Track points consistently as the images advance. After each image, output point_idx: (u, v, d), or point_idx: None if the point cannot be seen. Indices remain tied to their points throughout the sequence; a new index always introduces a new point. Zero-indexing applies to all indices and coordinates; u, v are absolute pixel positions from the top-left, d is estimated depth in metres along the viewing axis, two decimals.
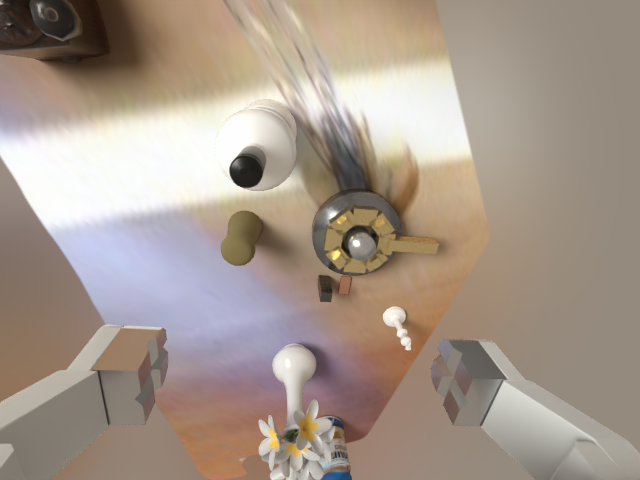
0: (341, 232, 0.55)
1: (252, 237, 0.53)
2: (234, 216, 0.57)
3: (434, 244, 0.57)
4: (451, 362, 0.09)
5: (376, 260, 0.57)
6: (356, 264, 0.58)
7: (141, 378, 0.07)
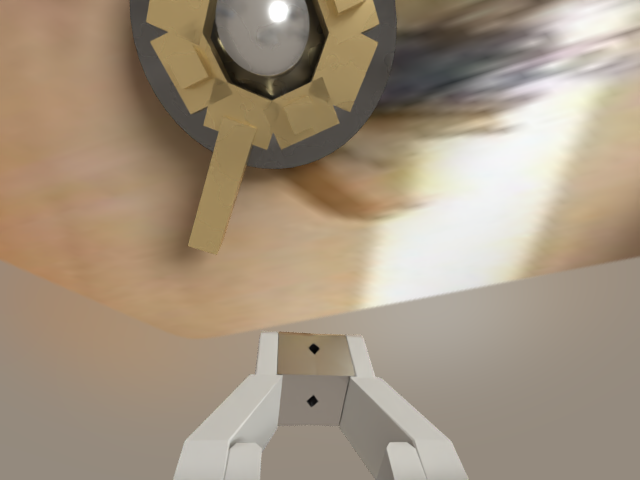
0: None
1: None
2: None
3: (217, 244, 0.23)
4: None
5: (197, 70, 0.17)
6: None
7: (314, 381, 0.08)
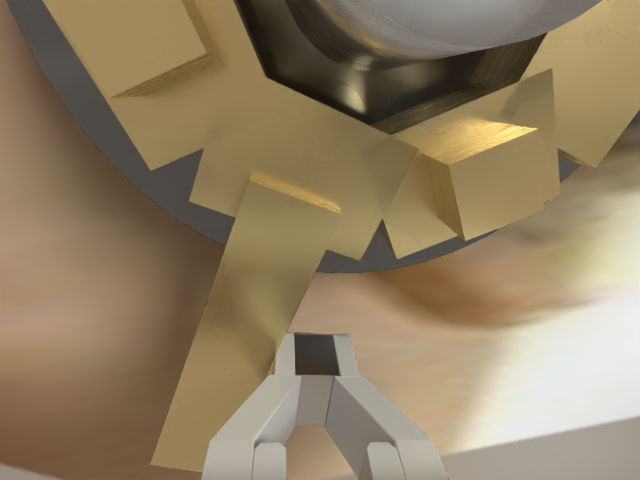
0: None
1: None
2: None
3: None
4: None
5: (166, 29, 0.05)
6: None
7: (332, 382, 0.08)
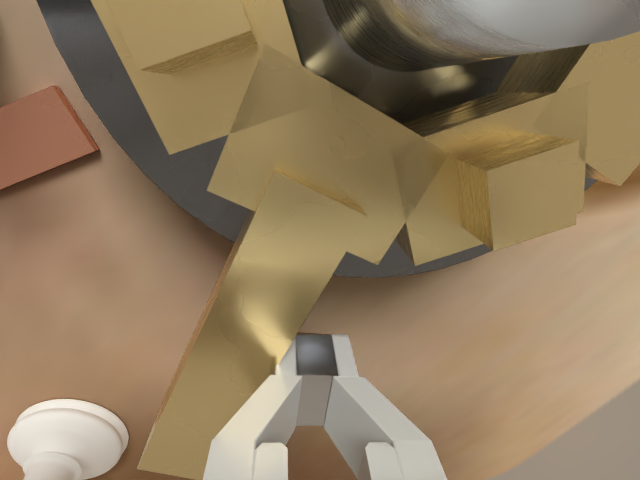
0: None
1: None
2: None
3: None
4: None
5: None
6: None
7: (333, 382, 0.08)
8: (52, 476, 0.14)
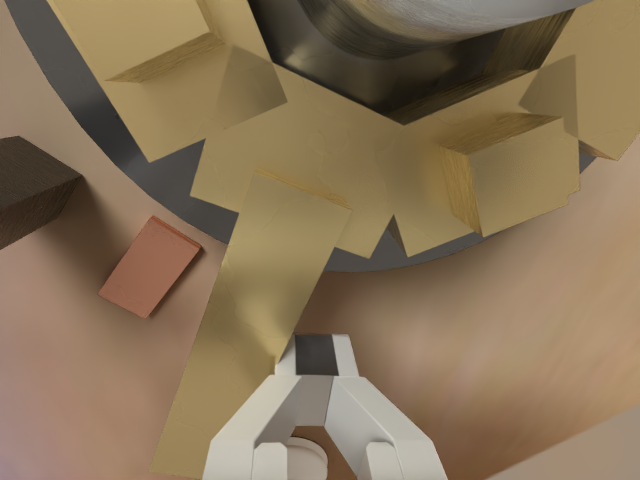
0: None
1: None
2: None
3: None
4: None
5: (166, 4, 0.04)
6: None
7: (332, 382, 0.08)
8: None
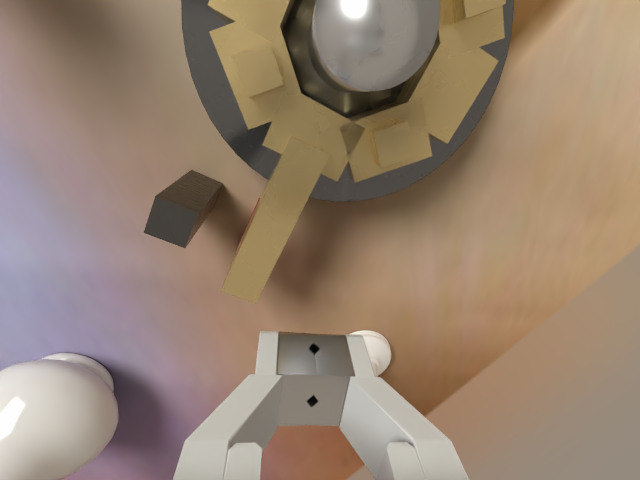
0: None
1: None
2: None
3: (258, 291, 0.18)
4: None
5: (271, 75, 0.13)
6: None
7: (314, 381, 0.08)
8: None
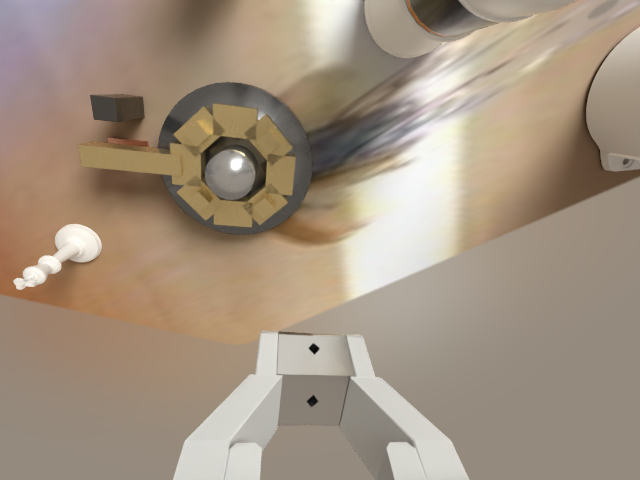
0: (268, 189, 0.34)
1: None
2: None
3: (90, 165, 0.31)
4: None
5: (197, 140, 0.30)
6: (233, 123, 0.31)
7: (314, 381, 0.08)
8: (74, 248, 0.38)
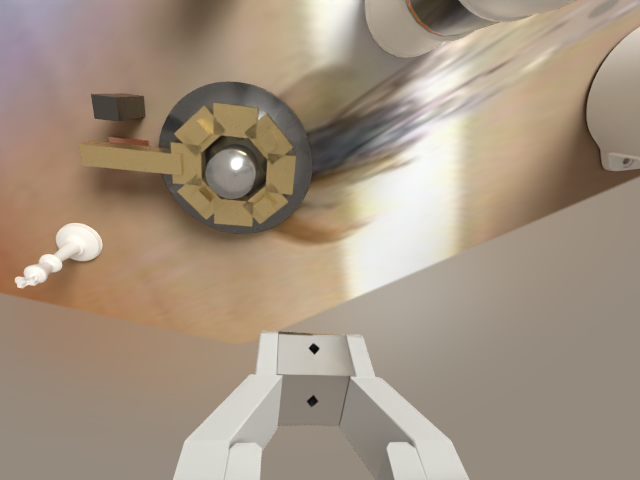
0: (268, 188, 0.34)
1: None
2: None
3: (91, 164, 0.31)
4: None
5: (197, 139, 0.30)
6: (233, 123, 0.31)
7: (314, 382, 0.08)
8: (75, 247, 0.38)
